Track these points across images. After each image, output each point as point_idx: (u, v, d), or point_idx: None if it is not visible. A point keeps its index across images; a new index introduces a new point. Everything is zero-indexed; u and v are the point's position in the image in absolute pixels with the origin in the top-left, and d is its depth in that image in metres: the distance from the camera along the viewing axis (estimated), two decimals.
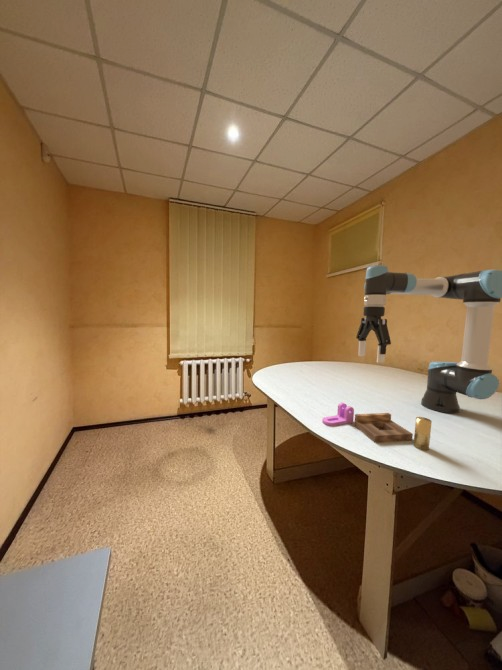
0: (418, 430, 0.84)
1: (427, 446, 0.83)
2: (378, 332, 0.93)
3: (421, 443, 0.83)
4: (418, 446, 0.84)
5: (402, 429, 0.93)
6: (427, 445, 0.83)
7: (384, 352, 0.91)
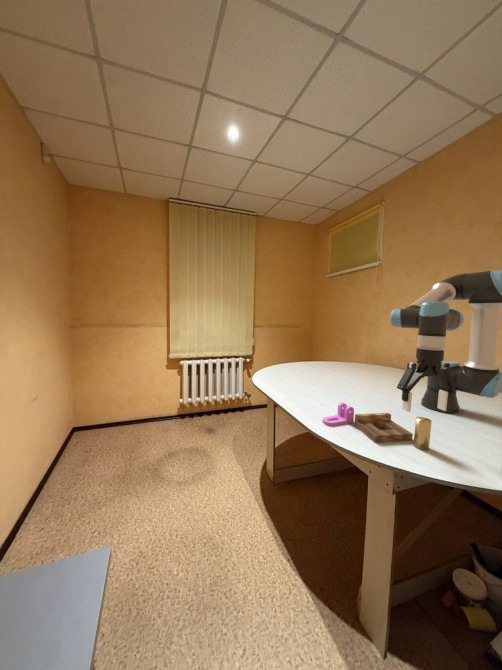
0: (418, 430, 0.84)
1: (427, 446, 0.83)
2: (412, 377, 0.83)
3: (421, 443, 0.83)
4: (418, 446, 0.84)
5: (402, 429, 0.93)
6: (427, 445, 0.83)
7: (403, 398, 0.82)
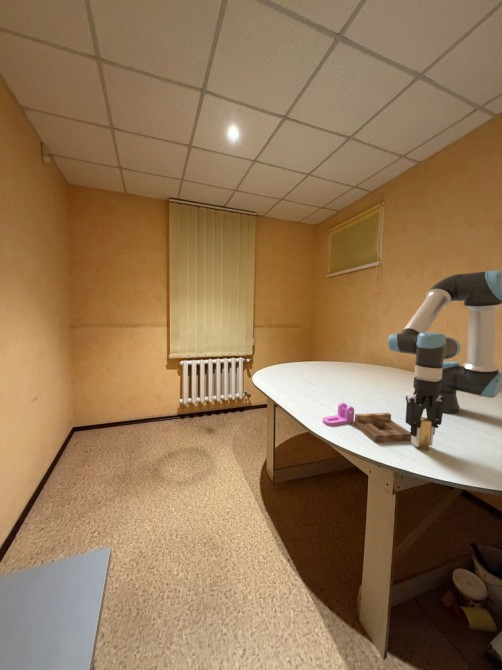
0: None
1: (427, 446, 0.83)
2: (415, 410, 0.84)
3: (421, 443, 0.83)
4: None
5: (402, 429, 0.93)
6: (427, 445, 0.83)
7: (412, 433, 0.84)
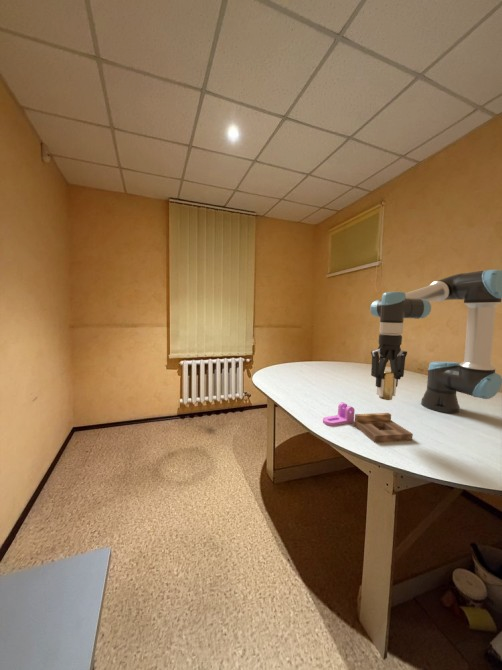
0: None
1: (390, 396, 0.91)
2: (379, 363, 0.92)
3: (385, 393, 0.91)
4: None
5: (402, 429, 0.93)
6: (391, 395, 0.91)
7: (377, 385, 0.92)
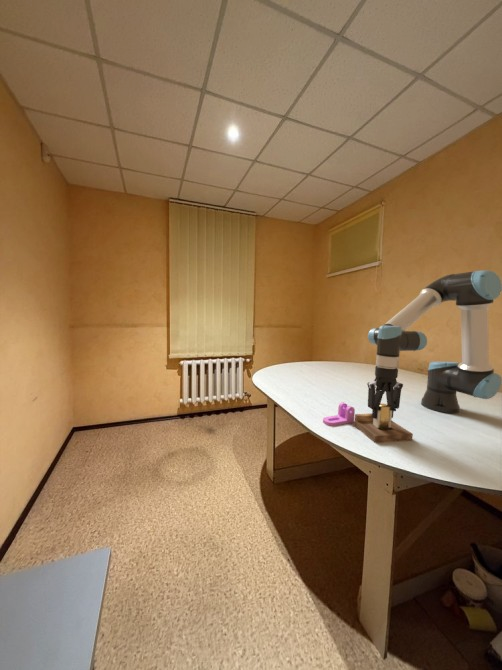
0: None
1: (386, 429, 0.93)
2: (376, 395, 0.94)
3: (381, 426, 0.93)
4: None
5: (402, 429, 0.93)
6: (386, 428, 0.93)
7: (373, 416, 0.94)
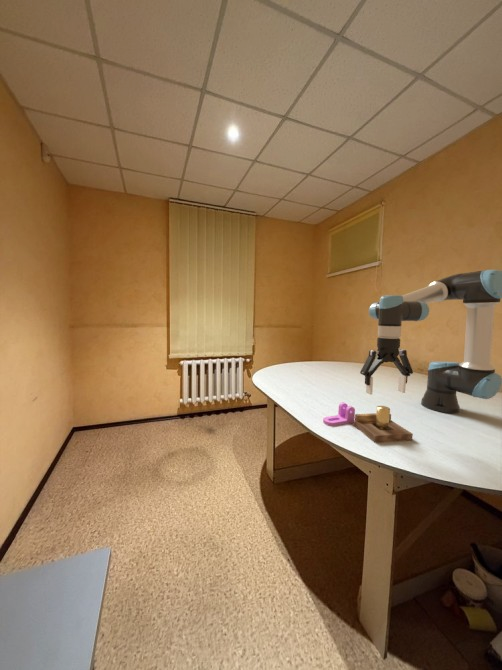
0: (378, 417, 0.94)
1: None
2: (373, 363, 0.92)
3: (381, 429, 0.93)
4: None
5: (402, 429, 0.93)
6: None
7: (366, 383, 0.92)
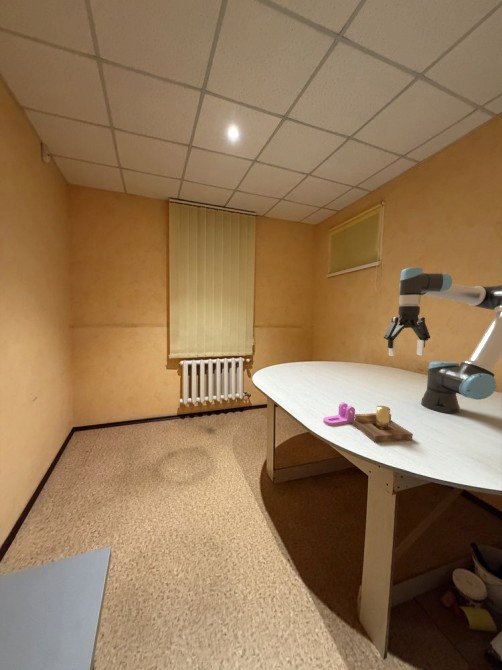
0: (378, 417, 0.94)
1: None
2: (395, 329, 1.04)
3: (381, 429, 0.93)
4: None
5: (402, 429, 0.93)
6: None
7: (389, 346, 1.03)
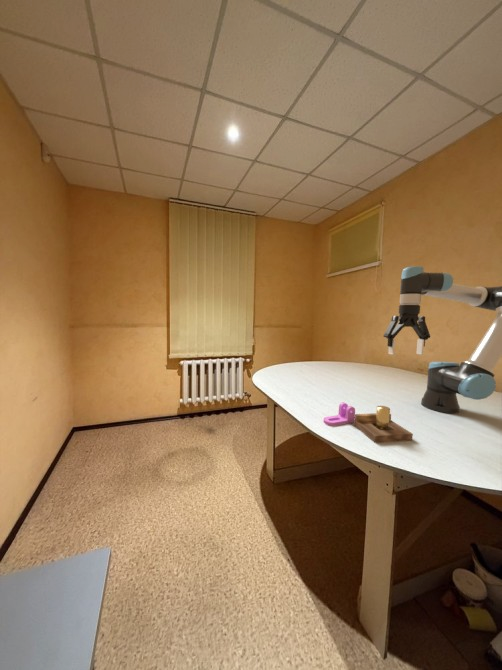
0: (378, 417, 0.94)
1: None
2: (395, 328, 1.04)
3: (381, 429, 0.93)
4: None
5: (402, 429, 0.93)
6: None
7: (389, 344, 1.04)
